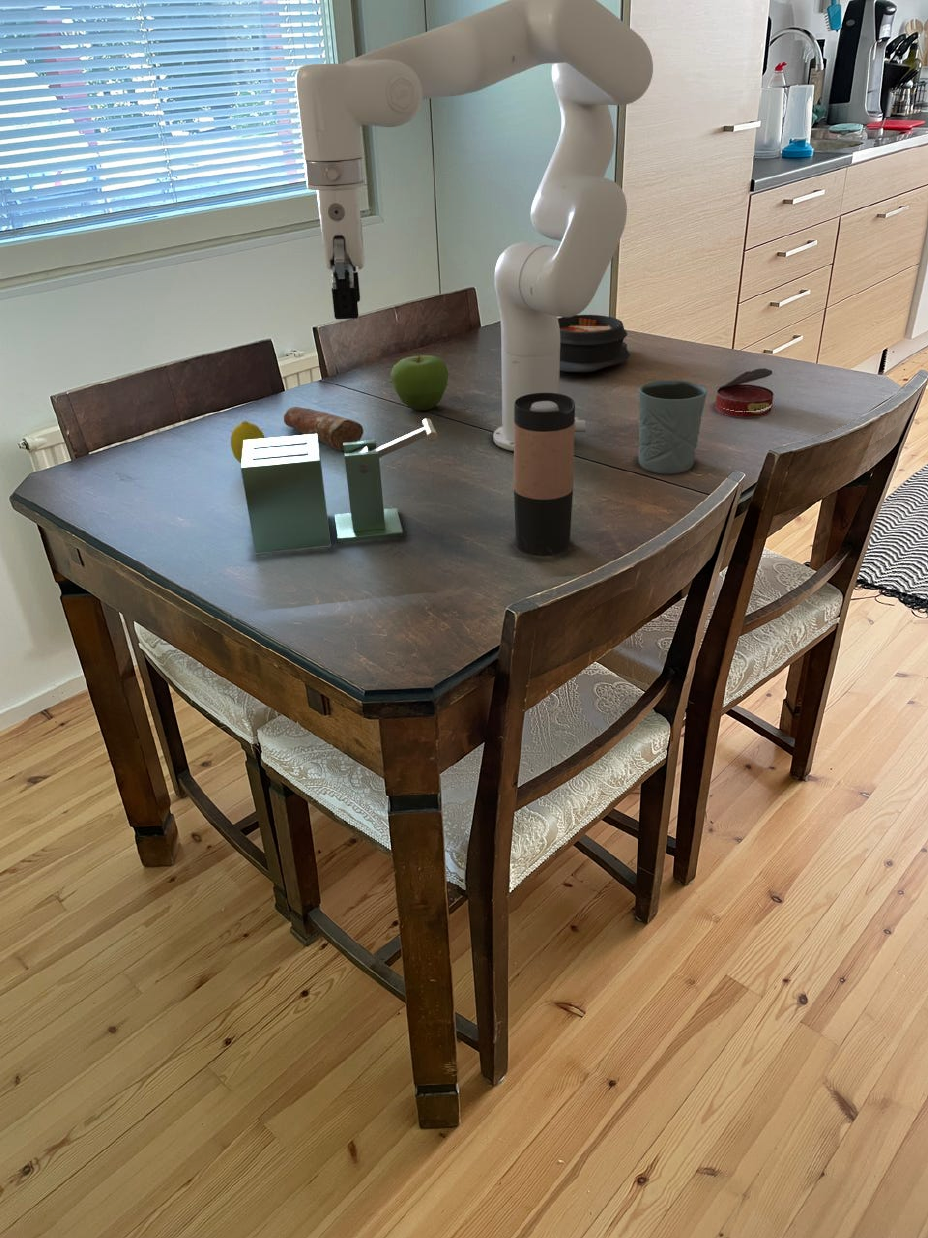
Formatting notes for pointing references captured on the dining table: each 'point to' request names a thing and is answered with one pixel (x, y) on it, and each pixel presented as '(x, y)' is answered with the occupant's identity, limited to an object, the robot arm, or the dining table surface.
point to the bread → (324, 426)
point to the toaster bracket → (365, 498)
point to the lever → (406, 439)
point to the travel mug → (543, 472)
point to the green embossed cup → (669, 424)
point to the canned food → (745, 396)
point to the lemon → (244, 437)
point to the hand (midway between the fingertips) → (348, 309)
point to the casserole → (591, 343)
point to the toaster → (285, 494)
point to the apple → (420, 381)
